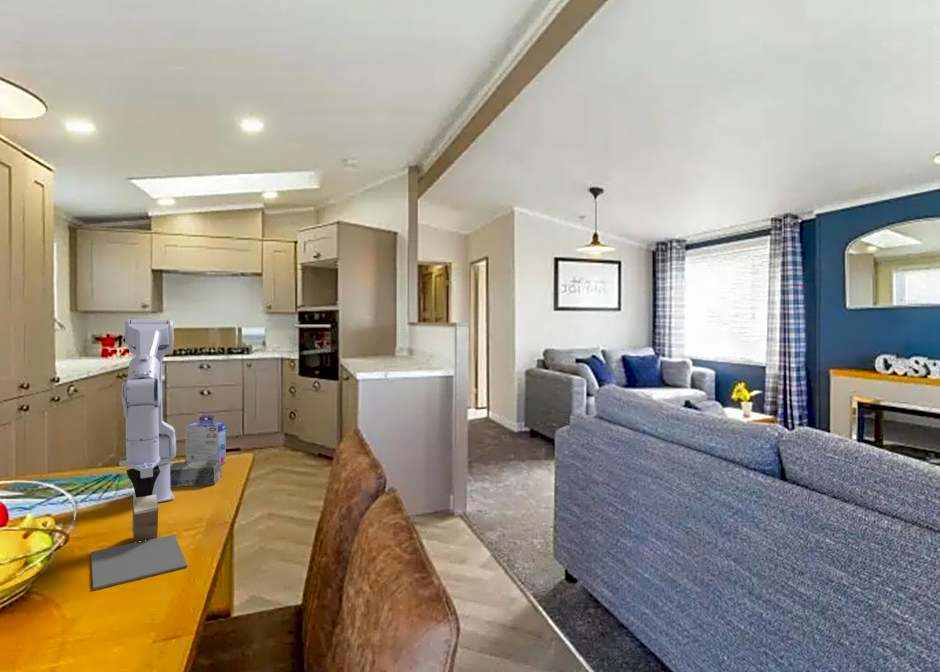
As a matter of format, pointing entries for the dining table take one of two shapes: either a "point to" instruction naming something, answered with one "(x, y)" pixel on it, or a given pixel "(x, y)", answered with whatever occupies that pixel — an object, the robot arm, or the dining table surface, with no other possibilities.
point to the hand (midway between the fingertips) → (143, 503)
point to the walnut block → (145, 518)
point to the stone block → (195, 473)
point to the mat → (136, 561)
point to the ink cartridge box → (206, 440)
